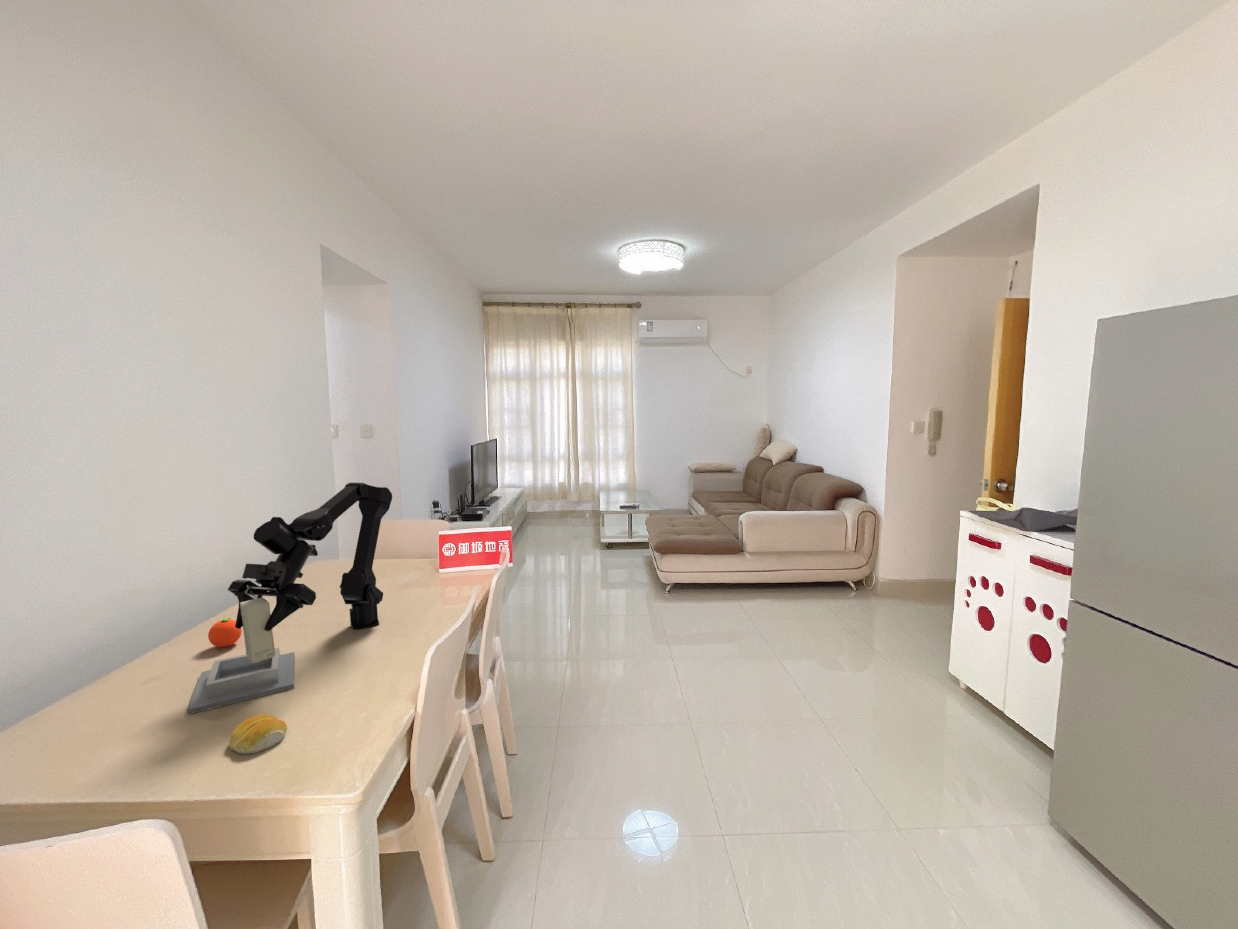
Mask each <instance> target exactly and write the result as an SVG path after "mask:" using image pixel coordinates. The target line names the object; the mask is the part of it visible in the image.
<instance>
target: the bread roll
mask: <svg viewBox="0 0 1238 929" xmlns="http://www.w3.org/2000/svg"><path fill="white" fill-rule="evenodd" d="M287 730H288V725H287V723H286V722H285V721H284V720H281V719H279V718H277V717H276V716H274V715H271V714H267V713H262V714H256V715H253V716H252V717H248V718H247V719H245V720H243V721H242V722H240V723H239V724H238V725H237V726H236V727H235V728H234V729H233V731H232V733H231V736H230V738H229V741H228V742H229V748H230V749H231V750H232V751H235V752H236V753H238V754H241V753H242V754H241V755H249V754H250V753H251V754H256V753H260V752H262V751H265V750H267V749H269V748H271V747H273V746H275V745H276V743H277V744H278V743H279V742H281V741H282V740H283V739H284V737H285V735H286V733H287ZM264 749H265V750H264ZM261 750H262V751H261ZM259 751H260V752H259ZM251 754H250V755H251Z"/></svg>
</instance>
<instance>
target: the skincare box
mask: <svg viewBox="0 0 1238 929" xmlns="http://www.w3.org/2000/svg"><path fill="white" fill-rule="evenodd" d="M270 606H271V605H270V602H269V601H268V600H267V599H266V598H265V597H264V596H262V597H261V598H257V599H253V600H249V601H244V602H240V608H241V615H242V623H243V626H242V631H243V636H244V637H243V638H244V646H245V655H247V657H248V658H249V659H250V661H251V662H252V663H255V662H258V661H262V660H265V659H268V658H271V657H274V656H275V642H274V634H273V628H272V629H271V630H270V631H266V630H264V629H265V626H266V624H267V621H268V619H269V617H270V616H271V607H270Z"/></svg>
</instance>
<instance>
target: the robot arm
mask: <svg viewBox="0 0 1238 929" xmlns="http://www.w3.org/2000/svg"><path fill="white" fill-rule="evenodd" d="M392 500H393V493H392V492H391V491H390V489H389V488H388V487H384V486H375V485H374V486H373V485H369V484H367V483H364V482H349V483H346V484H345V485H344V488H342V489H340V491H339V492H337V493H336V494H334V496H332V497H331V498H329V499H328V500H327V501H326V502H325V503H324V504H322V505H321V506H320V507H318V508H316V509H314V510H311V511H308V512H304V513H303V514H300V515H298V516H297V517H296V518H294V519H293V520H292V522H291V523H289V524H288V523H287V522H285V520H284V519H283V518H282V517H281V516H272V517H271V519H270V520H269V521H266V522H264V523H262V524H261V525H260V526H259V527H257V528H256V529H255V531H254V533H253V539H254V541H255V542H257V544H260V545H261V546H262V547H264V548H265V549H266V550H267V551H269V552H270V553H271V554H273V555H278V556H277V557H276V559H275V560H274V561H273V560H271V561H269V562H268V563H267V564H262V563H261V564H259V563H246V564H245V565H244V568H243V569H244V570H243V573H242V577H241V578H242V579H236V580H234V581H232V582H231V584H229V586H228V588H227V591H228V592H230V593H232V594H233V595H234V596H235V597H237V600H238V610H237V615H236V620H235V621H236V624H235V627H236V628H238V629H240V628H241V629H242V628H243V623H242V615H241V608H240V602H244V601H249V600H253V599H257V598H261V597H275V601H276V602H275V603H276V604H275V605H274V608H273V609H272V612H271V613H270V615H271V616H270V617H269V619H268V621H267V624H266V626H265V629H264V630H266V631H270V630H271V629H272V630H273V629H274V628H276V626H277V625H279V624H280V623H281V622H283V621H284V620H285V619H287V618H288V617H289V616H291V615H292V614H294V613H295V612H296V611H298V610H299V609H303V608H304V606H313V605H314V603H315V600H316V599H317V592H316V591H314V590H313V589H312V588H310V587H308V586H307V585H306V584H305V583H295V582H296V580H297V579H302V578H303V576H304V573H302V572H301V571H302V569H303V567H304V565H305V564H306V562H307V560H308V559H309V556H311V557H317V556H318V555H319V554H318V550H317V548H316V544H310V543H308V542H307V541H316V542H318V541H319V542H320V541H322V540H324V539H325V538H326V537H327V536H328V534H329V533H330V532H331V531H332V529H333V526H334V522H335V521H336V520H337V519H338V518H340V517H341V516H342V515H343V514H345V512H346V511H348V510H349V509H350V508H351V507H352V506H354V504H356V503H357V502H358V509H359V510H360V513H361V516H362V518H361V522H360V528H359V533H358V539H357V544H356V547H355V552H354V558H353V563H352V567H351V568H350V570H348V571H347V572H343V573H342V576H341V582H340V585H339V589H340V596H341V597H342V600H343V602H344V604H345V605H351V608H349V609H348V610H349V623H350V626H352V628H353V630H358V629H363V628H368V627H373V626H378V625H380V621H379V616H378V605H380V604H381V602H382V601H383V597H384V592H383V591H381V589H379V587H377V584H376V583H377V577H376V574H374V570H373V566H374V565H373V564H374V559H375V553H376V550H377V543H378V537H379V533H380V528H381V522H382V518H383V517H384V516H385V515H386V514H387V512H388V511H389V510H390V506H391V504H392ZM246 579H251V580H246ZM252 579H253V580H255V581H254V582H255V583H254V582H253V581H252ZM259 585H260V586H259Z"/></svg>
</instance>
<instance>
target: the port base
mask: <svg viewBox="0 0 1238 929" xmlns="http://www.w3.org/2000/svg"><path fill="white" fill-rule="evenodd" d="M295 659H296V655H295V651H293V652H292V651H291V652H288V653H284V654H280V673H279V682H276V683H272V684H268V685H264V686H260V687H255V688H251V689H247V690H243V691H239V692H234V693H230V694H226V695H222V696H218V697H213V698H209V699H207V691H206V683H207V680H208V678H209V675H210V672H211V669H208V670H205V671H204V670H203V671H201V673H200V675H199V678H198V680H197V683H196V686H195V689H194V691H193V694H192V697H191V698H190V699H191V700H190V702H189V705H188V707H187V715H192V714H193V713H192V712H196V713H199V711H200V712H203V711H202V710H204V711H207V710H206V709H208V710H210V709H209V708H212V709H215V708H214V707H216V708H218V707H217V706H220V705H224V706H227V705H226V704H228V705H231V704H230V703H232V704H234V703H233V702H236V703H240V702H244V701H248V700H251V699H257V698H260V697H264V696H268V695H273V694H277V693H279V692H284V691H289V690H293V689H295V664H296V663H295V662H296V660H295ZM271 667H272V663H271V664H266V665H262V666H257V667H253V668H248V669H244V670H239V671H235V672H230V673H226V674H221V677H220V680H221V679H225V678H229V677H234V676H238V675H243V674H247V673H252V672H256V671H261V670H265V669H269V668H271ZM220 707H221V706H220ZM191 713H192V714H191Z"/></svg>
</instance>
